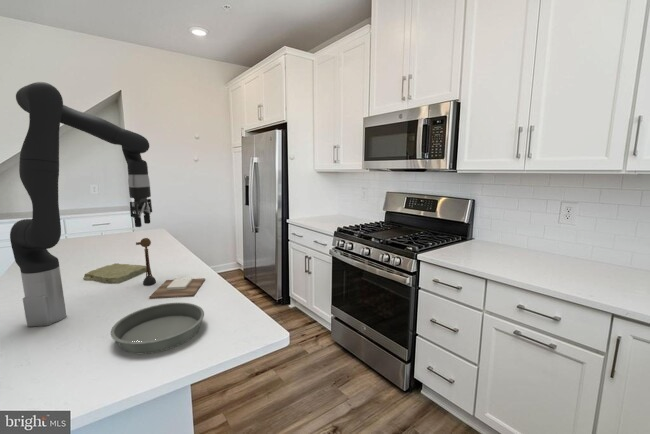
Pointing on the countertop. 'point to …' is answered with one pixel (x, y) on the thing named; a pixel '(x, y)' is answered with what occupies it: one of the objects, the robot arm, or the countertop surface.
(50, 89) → the robot arm
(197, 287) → the walnut board
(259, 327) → the countertop surface
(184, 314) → the cake pan
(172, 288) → the glazed tile
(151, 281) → the wooden tabletop sculpture
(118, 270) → the olive green flat slab
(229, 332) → the countertop surface
